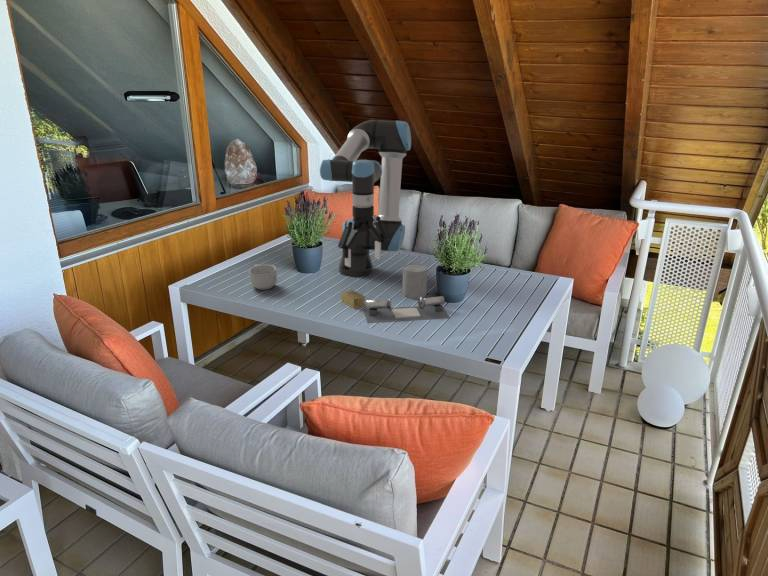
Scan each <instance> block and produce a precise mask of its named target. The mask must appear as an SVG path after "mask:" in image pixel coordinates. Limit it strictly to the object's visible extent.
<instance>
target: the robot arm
mask: <svg viewBox="0 0 768 576" xmlns="http://www.w3.org/2000/svg"><path fill="white" fill-rule="evenodd" d="M411 134H412V133H411V128H410V125H409V124H408V122H407V121H404V120H403V121H401V120H392V119H390V120H386V119H384V120H383V119H382V120H381V119H380V120H379V119H369V120H366V121H363V122H361V123H359V124H358V125H356V126H354V127H353V128H352V129H351V130H350V131H349V133H348V134H347V137H346V140H345V141H344V143H343V144H342V146H341V147H340V148H339V149H338V151H337V152H336V154H335V155H334V156H333V158H332V159H329V158H328V159H323V160H322V161H321V162H320V166H319V175H320V176H319V177H320V178H321V179H322V180H323V181H329V182H343V183H344V182H346V183H348V182H349V183H352V196H351V197H352V199H351V200H352V201H351V202H352V209H351V210H352V217H353V218H350V219H346V220H345V221H343V223H342V231H341V234H342V235H341V237H340V239H339V242H338V245H337V247H338V248H339V249H342V255H341V257H340V258H341V259H340V261H339V264H338V272H339V273H340V274H341V275H344V276H349V277H363V276H368V275H371V274H372V273H373V272H374V264H373V261H372V258H371V255H370V250H372V251H374V259H377V260H379V261H380V260H381V259H382V255H381V254H382V252H383V251H384V252H398V251H400V250H401V248H402V246H403V242H404V238H405V233H406V226H405V225H404V224H403V223H402V218H400V216H399V211H400V199H401V185H402V184H401V182H402V172H403V171H402V169H403V159H404V158H405V157H406V156H407V151H410V150H411V149H412V135H411ZM367 149H376V150H378V155H380V157H381V163H380V162H378V161H377V160H373V159H371V160H369V159H358V158H359V157H360V155H361V153H362V152H364V151H366V150H367ZM379 180H380V183H379V188H380V189H379V198H378V199H379V201H378V214H377V215H374V213H375V212H374V211H375V207H374V203H375V200H374V199H375V198H374V197H375V192H374V191H375V183H376V182H378V181H379Z"/></svg>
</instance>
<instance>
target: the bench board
mask: <svg viewBox="0 0 768 576" xmlns="http://www.w3.org/2000/svg"><path fill="white" fill-rule="evenodd" d="M401 308H417V310H418V312H419V314H420V317H411V318H395V315H394V313H393V311H392V309H401ZM363 313H364V317H365V319H366V323H367V324H377V323H391V322H392V323H394V322H397V323H398V322H412V321H427V320H428V321H429V320H439V319H440V320H445V319H451V316H450V315H449V313H448V312H447V310H446V309H445V307H443V310H442V312H434V311H433V310H432V309H431V308H430V306H426V307H424V308H423V309H420V308H419V305H418V306H402V307H401V306H400V307H391V311H389V309H377V316H369V308H364V309H363Z"/></svg>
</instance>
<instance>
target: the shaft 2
mask: <svg viewBox="0 0 768 576" xmlns="http://www.w3.org/2000/svg"><path fill="white" fill-rule="evenodd" d="M417 304H418V306H419V308H420V309H423V308H424V307H426V306H430V308H431V309H432V310H433V311H434V312H442V310H443V308H444V306H443V305H444V304H445V297H444V296H443V295H441V296H439V295H438V296H433V297H423V298H422V297H419V298H418V299H417Z"/></svg>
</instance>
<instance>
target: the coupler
mask: <svg viewBox="0 0 768 576" xmlns="http://www.w3.org/2000/svg"><path fill="white" fill-rule="evenodd" d="M340 299H341V303H343V304H345V305H347V306H349V307H350V308H352V309H357V308H360V307H364V306H366V302H365V301H366V300H365V299H366V297H365V296H364V295H363V294H361V293H359V292H357V291H355V290H353V289H350V290H347V291H344V292H343V291H342V292H341V298H340Z"/></svg>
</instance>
